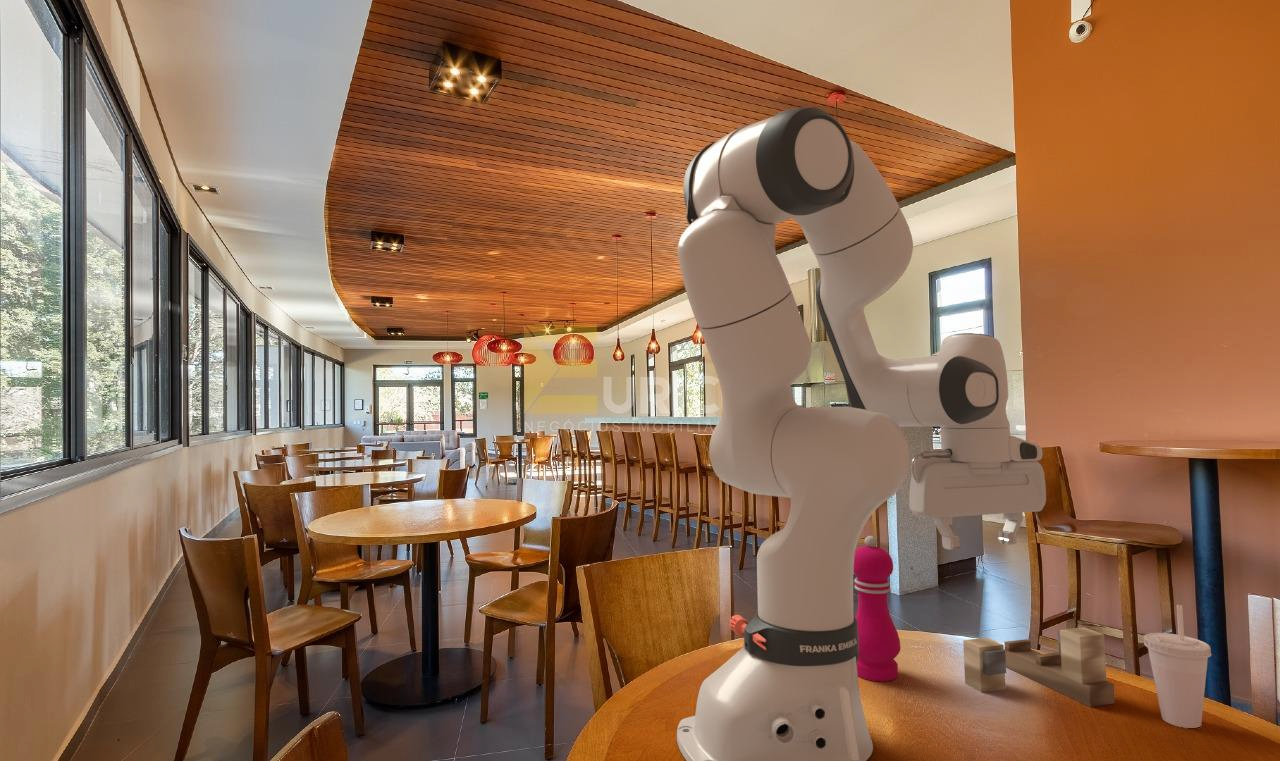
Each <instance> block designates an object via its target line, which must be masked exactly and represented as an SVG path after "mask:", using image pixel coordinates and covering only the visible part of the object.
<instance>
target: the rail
mask: <svg viewBox="0 0 1280 761" xmlns="http://www.w3.org/2000/svg"><path fill="white" fill-rule="evenodd" d="M1057 638H1058V639H1057V640H1058V644H1057V645H1058V651H1057V652H1049V653H1041V652H1039V651H1036V650H1035V649H1032V642H1031V640H1029V639H1027V638H1026V639H1017V640H1008V641H1004V650H1005V657H1006V669H1009V670H1010V671H1013V672H1015V673H1017V674H1020V675H1021V676H1024V677H1026V678H1028V679H1030V680H1031V681H1032V680H1033V681H1034V682H1036V683H1039V684H1041V685H1043V686H1045V687H1047V688H1049V689H1052V690H1054V691H1055V692H1057V693H1059V694H1062V695H1064V696H1065V697H1068V698H1070V699H1072V700H1075V701H1077V702H1079V703H1081V704H1083V705H1085V706H1087V707H1090V708H1092V707H1098V706H1099V707H1101V706H1105V705H1106V706H1107V705H1112V704H1115V703H1116V702H1115V701H1116V699H1115V684H1114V683H1113V682H1110V681H1108V680H1107V664H1106V662H1107V661H1106V646H1105V634H1104V633H1101V632H1098V631H1095V630H1093V629H1089V628H1087V627H1085V626H1082V627H1075V628H1074V627H1073V628H1065V629H1060V630H1059V631H1057Z"/></svg>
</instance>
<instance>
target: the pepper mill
mask: <svg viewBox="0 0 1280 761" xmlns="http://www.w3.org/2000/svg"><path fill="white" fill-rule="evenodd" d="M877 545H878V539H877V538H876V537H874V536H873V535H868V536H866V537H865V538H864V546H861V547H858V548H856V551H855V558H854V574H853V575H855V578H854V579H853V582H854V583H855V584H854V589H855V590H856V591H857V596H858V603H857V606H858V607H857V611H856V614H855V616H854V617H855V618H856V620H857V622H858V637H859V657H858V662H857V673H858V678H861V679H863V680H868V681H872V682H891V681H894V680H896V679H897V678H898V676H899V675H898V674H899V668H898V666H899V665H898V664H899V663H898V661H897V660H895V659H896V657H898V655H899V654H900V652H901V648H902V647H901V640H900V636H899V633H898V630H897V628H896V626H895V624H894V622H893V620H892V617H891V615H890V611H889V607H888V593H889V592H890V591H891V587H890V585H891V582H890V580H889V577H890V576H891V575H892V574H893V571H894V562H893V558H892V557H891V555H890V553H889V552H887V551H886V550H885V549H883V548H882V547H878V546H877Z"/></svg>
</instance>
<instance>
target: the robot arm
mask: <svg viewBox="0 0 1280 761" xmlns="http://www.w3.org/2000/svg"><path fill="white" fill-rule="evenodd" d="M682 185H683V190H682V191H683V200H684V205H685V208H686V215H685V217H686V221H687V223H688V226H687V227H686V228H685V230H684V231H683V232H682V233H681V236H680V237H679V240H678V243H677V258H678V261H679V268H680V272H681V276H682V282H683V285H684V288H685V292H686V296H687V299H688V302H689V305H690V308H691V311H692V313H693V316H694V319H695V321H696V324H697V326H698V329H699V331H700V333H701V336H702V338H703V341H704V343H705V346H706V349H707V351H708V354H709V357H710V359H711V361H712V362H711V363H712V364H713V368H714V369H715V373H716V375H717V378H718V381H719V385H720V391H721V397H722V400H721V401H722V409H721V410H722V411H721V412H722V413H721V417H720V420H719V421H718V423H717V424H716V425H715V427H714V429H713V431H712V434H711V436H710V439H709V440H710V441H709V446H708V447H709V448H708V449H709V450H708V453H709V460H710V464H711V467H712V469H713V472H714V474H715V475H716V476H717V477H718V479H719V480H720V481H722V482H723V483H724V484H727V485H730V486H731V487H734V488H737V489H739V490H742V491H745V492H747V493H750V494H752V495H760V496H768V497H769V496H770V497H779V498H787V499H789V498H790V510H789V514H788V518H787V521H786V523H785V525H784V527H783V528H782V529H780V530H778V531H776V532H775V533H773V534H771V535H770V536H769V537H767V538H766V539H765V540H764V541H763V542H762V543H761V545H760V547H758V548H759V549H758V550H757V555H756V579H757V580H756V584H757V585H756V586H757V611H756V612H755V614H754V616H753V618H752V619H751V620H750V621H748V620H747V619H745V618H744V617H743V616H742V615H740V614H735V615H733V616H731V618H730V619H728V620H729V622H728V625H729V626H728V627H729V628H730V630H731V631H732V632H733V633H735V634H736V635H737V636H739V637H740V636H741V637H742V636H743V643H744V644H743V645H744V646H743V647H741V648H740V649H738V651H737V652H736V653H734V655H733V656H732V657H730V658H729V659H728V660H727V661H726V662H724V663H723V664H722V665H721V666H720V667H718V668H717V669H716V670H715V671H714V672H712V673H711V674H710V675H709V676H707V677H706V678H705V679H704V680H703V681H702V683H701V685H700V688H699V692H698V694H697V700H696V705H695V706H696V707H695V715H692V716H689V717H685V718H682V719H681V720H680V721H679V723H678V726H677V728H676V729H677V731H676V742H677V745H678V749H679V751H680V753H681V755H682V757H683V758H684V759H685V761H867V760H869V758H870V757H871V755H872V753H873V751H874V745H873V741H872V738H871V735H870V731H869V728H868V724H867V721H866V720H867V719H866V716H865V712H864V708H863V707H864V706H863V702H862V697H861V696H862V695H861V690H860V683H859V676H858V673H857V662H858V657H859V637H858V622H857V620H856V618H855V617H856V616H855V615H854V575H855V574H854V558H855V551H856V550H857V547H858V543H859V540H860V536H861V534H862V531H863V530H864V527H865V526H866V524H867V523H868V521H869V519H870V517H871V516H872V515H873V513H875V511H876V510H877V509H879V507H880V506H881V505H883V504H884V503H885V502H887V501H888V500H889V499H891V498H892V497H893V496H894V495H895V494H896V493H897V492H898V491H899V490H900V489H901V487H902V486H903V484H904V482H905V480H906V478H907V475H908V472H909V468H910V466H911V478H910V485H909V486H910V487H909V497H908V499H909V501H908V502H909V506H908V507H909V510H910V511H911V512H912V514H913V515H914V516H917V517H921V518H926V519H933V524H934V526H935V527H936V529H937V531H938V532H939V534H940V536H941V543H942V544H941V545H942V548H943V549H945V550H949V551H950V550H959V549H960V547H961V545H960V536H958V535H955V534H954V532H953V531H952V529H951V526H952V525H953V524H954V523H953V518H954V517H970V516H986V515H989V516H990V515H1000V514H1001V515H1002V518H1003V519H1005V523H1004V525H1003V528H1002V530H998V531H997V533H998V534H997V536H998V543H999V544H1000V545H1005V546H1014V545H1017V532H1018V531H1019V529H1020V527H1021V525H1022V523H1023V521H1024V516H1023V513H1031V512H1032V513H1033V512H1041V511H1042V510H1043V508H1044V507H1045V505H1046V502H1047V490H1046V489H1047V487H1046V486H1047V485H1046V479H1045V478H1046V477H1045V471H1044V468H1043V466H1042V465H1041V463H1039V461H1041V459H1042V458H1043V447H1042V446H1041V445H1039V444H1036V443H1035V442H1031V441H1028V440H1025V439H1022V438H1019V437H1017V436H1014V435H1011V425H1010V422H1009V418H1008V416H1007V404H1008V400H1009V385H1008V384H1009V382H1008V372H1007V366H1006V361H1005V356H1004V352H1003V349H1002V345H1001V343H1000V341H999V339H997V337H993V336H991V335H988V334H985V333H973V332H964V333H956V334H952V335H948V336H946V337H945V338H943V340H942V341H941V346H940V350H938V351H937V352H934V353H933V354H931V355H930V356H924V357H923V356H922V357H914V358H904V359H903V358H902V359H891V358H888V357H885V356H882V355H881V354H880V353H878V351H877V348H876V344H875V342H874V338H873V336H872V334H871V330H870V327H869V325H868V321H867V318H866V315H865V307H866V306H868V305H869V304H871V303H872V302H874V301H876V300H878V299H880V297H881V296H883V295H885V293H887V292H888V291H889V290H890V289H891V288H892V287H893V286H894V285H895V284H897V282H898V281H899V280H900V279H901V277H902V276H903V275H904V273H905V272H906V270H907V268H908V267H909V264H910V262H911V259H912V256H913V250H914V242H913V236H912V233H911V230H910V226H909V224H908V222H907V219H906V217H905V216H904V214H903V211H902V209H901V207H900V206H899V204H898V201H897V199H896V197H895V195H894V194H893V191H892V190H891V188H890V186H889V185H888V184H887V182H886V180H885V178H884V177H883V175H882V173H881V171H879V169H878V168H877V166H876V165H875V164H874V162H873V161H872V159H871V158H870V156H868V154H867V153H866V152H865V151H864V149H863V148H862V147H861V146H860V145H859V143H857V142H855V141H853V140H851V139H850V137H849V136H848V134H847V132H846V130H845V129H844V128H843V126H842V125H841V124H840V123H839V121H838V120H837V119H836V118H835V117H833V116H832V115H831V114H830V113H829V112H827V111H826V110H823V109H820V108H819V107H809V106H807V107H806V106H802V107H795V108H790V109H785V110H782V111H779V112H778V113H777V114H775V115H773V116H771V117H768V118H765V119H763V120H760V121H759V120H758V121H757V122H754V123H748V124H746V125H742V126H740V127H738V128H736V129H735V130H733V131H731V132H730V133H728V134H726V135H724V136H723V137H721V138H720V139H718V140H717V141H713V142H711V143H709V144H708V145H706V146H705V147H703V148H702V149H701V150H700V151H698V153H697V154H696V155H695V156H694V157H693V158H692V160H691V161H690V162H689V165H688V166H687V168H686V169H685V174H684V177H683V184H682ZM789 220H794V221H795V222H796V223H797V224H798V225H799V226H800V228H801V231H802V233H803V235H804V237H805V239H806V241H807V243H808V245H809V247H810V249H811V251H812V252H813V255H814V257H815V258H816V261H817V264H818V266H819V270H820V278H819V280H818V281H817V284H816V286H815V287H816V288H815V299H816V304H817V308H818V311H819V315H820V317H821V318H820V319H821V321H822V324H823V326H824V329H825V333H826V334H827V337H828V340H829V342H830V344H831V348H832V350H833V352H834V356H835V358H836V361H837V364H838V365H839V366H838V367H839V368H840V371H841V374H842V377H843V379H844V380H843V381H844V384H845V390H846V396H847V400H848V404H849V406H816V407H815V406H811V407H810V406H807V407H803V406H799V405H798V404H797V402H796V401H795V399H794V396H793V392H792V384H793V383H794V382H795V381H797V379H799V378H800V377H801V376H802V374H803V373H804V372H805V370H806V369H807V367H808V364H809V362H810V359H811V355H812V343H811V341H810V338H809V334H808V332H807V328H806V327H805V324H804V321H803V318H802V316H801V313H800V310H799V307H798V305H797V302H796V299H795V296H794V294H793V291H792V288H791V286H790V283H789V281H788V278H787V275H786V273H785V271H784V268H783V266H782V264H781V262H780V260H779V258H778V256H777V253H776V252H777V251H776V242H775V240H776V239H775V238H776V229H777V224H779V223H783V222H786V221H789ZM931 427H940V429H939V430H940V446H941V448H940V449H936V450H935V449H934V450H930V449H923V450H921V451H920V452H919V453H918V454H916V455H915V456H914V458H913V459H912V460H911V458H910V456H911V454H910V448H909V444H908V440H907V438H906V436H905V433H904V431H903V430H902V428H931ZM910 460H911V461H910ZM910 462H911V465H910Z"/></svg>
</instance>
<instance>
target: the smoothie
mask: <svg viewBox="0 0 1280 761" xmlns="http://www.w3.org/2000/svg"><path fill="white" fill-rule="evenodd" d="M1183 613H1184V610H1183V605H1182V604H1176V616H1177V617H1176V618H1177V619H1176V620H1177V621H1176V622H1177V634H1175V633H1167V632H1150V633H1147V634H1145V635H1144V636H1143V637H1144V641H1143V644H1144V646H1145V647H1146V648H1147V649H1148V650H1147V651H1148V656H1149V661H1150V666H1151V670H1152V675H1153V680H1154V685H1155V691H1156V695H1157V699H1158V705H1159V709H1160V710H1159V711H1160V715H1161V719H1162V720H1163V721H1164V722H1166V723H1168V724H1170V725H1173V726H1176V727H1179V728H1182V727H1183V728H1184V729H1188V728H1195V727H1200V726H1201V727H1202V720H1203V710H1204V703H1205V702H1204V701H1205V688H1206V679H1207V671H1208V661H1209V660H1208V658H1210V657H1211V656H1212V653H1211V645H1209V644H1208V643H1206V642H1205V641H1202V640H1201V639H1197V638H1194V637H1190V636H1186V635H1185V629H1184V614H1183ZM1198 696H1199V697H1198ZM1201 727H1200V728H1201Z"/></svg>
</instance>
